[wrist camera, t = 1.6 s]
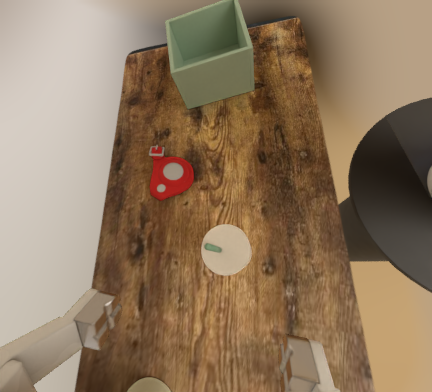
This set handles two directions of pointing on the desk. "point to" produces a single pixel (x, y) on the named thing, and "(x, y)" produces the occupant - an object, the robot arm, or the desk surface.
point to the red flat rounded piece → (169, 174)
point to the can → (149, 385)
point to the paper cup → (226, 250)
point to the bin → (210, 53)
